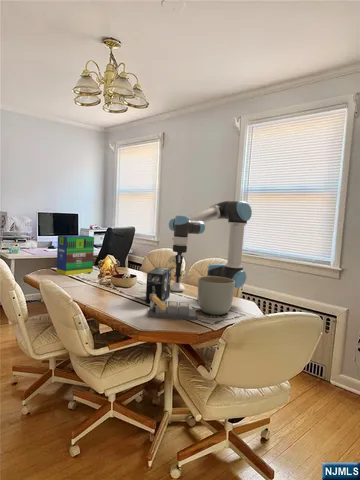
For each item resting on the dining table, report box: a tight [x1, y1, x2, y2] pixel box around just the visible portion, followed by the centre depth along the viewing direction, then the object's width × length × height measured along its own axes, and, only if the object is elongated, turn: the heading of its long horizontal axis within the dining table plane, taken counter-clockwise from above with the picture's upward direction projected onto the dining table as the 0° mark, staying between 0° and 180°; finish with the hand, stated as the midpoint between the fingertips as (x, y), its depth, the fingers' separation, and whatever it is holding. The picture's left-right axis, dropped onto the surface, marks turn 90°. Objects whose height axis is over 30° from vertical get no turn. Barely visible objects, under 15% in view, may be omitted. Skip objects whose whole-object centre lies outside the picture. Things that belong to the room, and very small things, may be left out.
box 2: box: [145, 266, 172, 306], centre depth 213 cm, size 23×10×19 cm, turn 168°
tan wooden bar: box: [149, 294, 166, 310], centre depth 175 cm, size 22×4×2 cm, turn 20°
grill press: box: [147, 300, 197, 321], centre depth 185 cm, size 25×14×7 cm, turn 91°
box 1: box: [56, 234, 95, 276], centre depth 280 cm, size 25×14×30 cm, turn 140°
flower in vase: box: [167, 255, 186, 292], centre depth 241 cm, size 13×11×25 cm
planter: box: [197, 275, 235, 316], centre depth 195 cm, size 21×21×19 cm
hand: (176, 288), depth 184 cm, fingers closed
